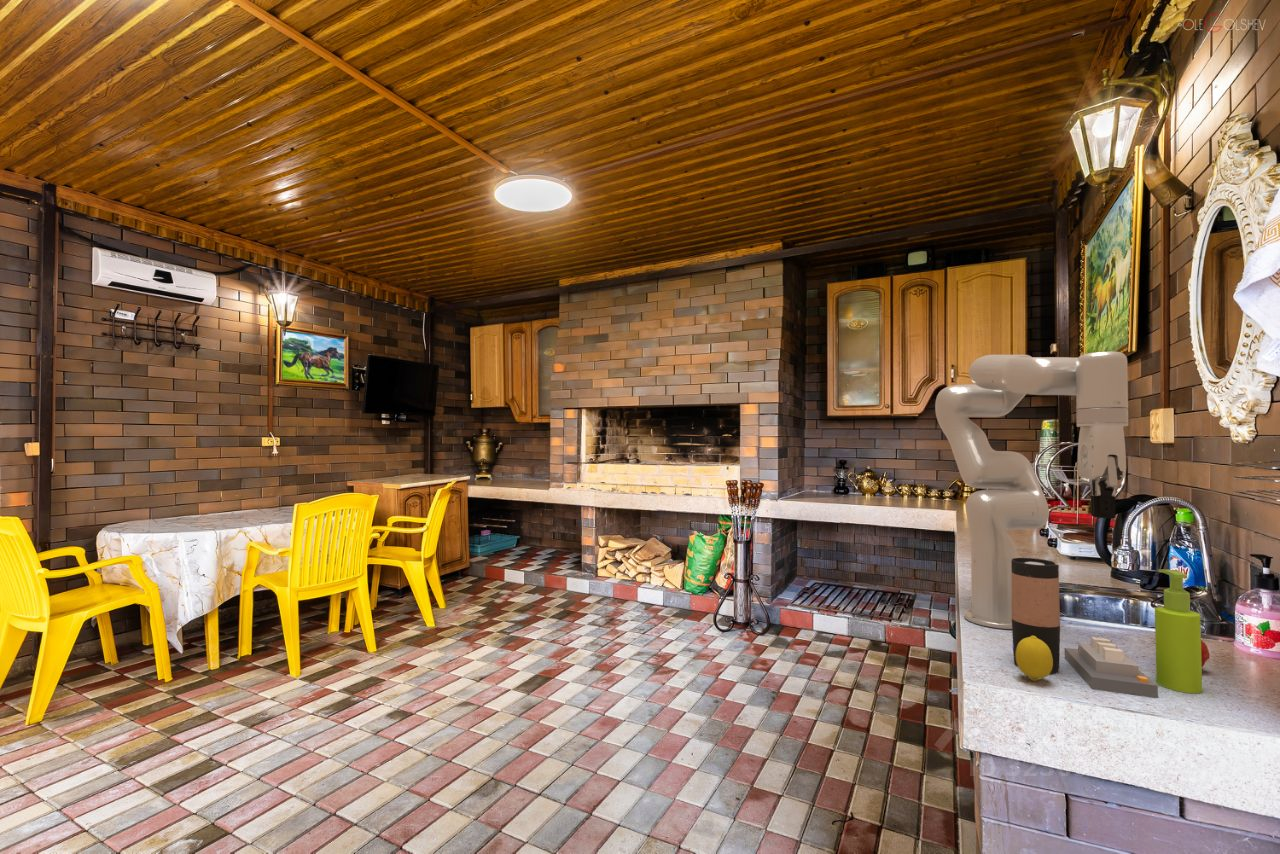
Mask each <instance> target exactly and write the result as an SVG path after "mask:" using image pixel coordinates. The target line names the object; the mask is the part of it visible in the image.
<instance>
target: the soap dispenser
mask: <svg viewBox="0 0 1280 854" xmlns="http://www.w3.org/2000/svg"><path fill="white" fill-rule="evenodd" d="M1157 572H1158V573H1163V574H1165V575H1168V576H1169V587H1167V588H1164V589H1163V606H1156V607H1154V625H1155V627H1154V630H1155V631H1154V633H1155V634H1154V635H1155V636H1154V638H1155V676H1156V677H1155V679H1156V681H1155V683H1157V684H1158V685H1159V686H1161V687H1164V688H1166V689H1169V690H1172V691H1175V692H1181V693H1184V694H1185V693H1187V694H1201V693H1202V692H1203V669H1202V668H1203V667H1202V662H1201V640H1202V628H1201V613H1199V612H1196V611H1193V610H1191V595H1190V592H1189V591H1186V589H1184V579H1188V574H1186V573H1184V572H1182V571H1179V570H1177V569H1165V568H1164V569H1161V568H1160V569H1157Z"/></svg>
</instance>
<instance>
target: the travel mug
mask: <svg viewBox="0 0 1280 854" xmlns="http://www.w3.org/2000/svg"><path fill="white" fill-rule="evenodd" d="M1059 567H1060V565H1059V564H1056V562H1054V561H1052V560H1047V559H1041V558H1033V557H1017V558H1013V559H1012V561H1011V571H1012V572H1011V574H1012V629H1011V634H1012V652H1013V655H1012V656H1013V663H1014V665H1015V666H1016V667H1018V665H1017V662H1016V649H1017V645H1018V643H1019V642H1020V641H1021V640H1022V639H1024V638H1027V637H1031V636H1036V637H1037V638H1038V639H1040V640H1042V641H1043V642H1044V643H1046V644H1047V646H1048V647H1049V649H1050V651H1051V654H1052V658H1053V667H1052V670H1051V672H1050V674H1049V675H1054V674H1058V673H1059V671H1060V652H1061V651H1060V650H1061V648H1060V646H1061V645H1060V644H1061V612H1060V611H1061V608H1060V606H1061V605H1060V578H1059V576H1060V575H1059V572H1060V570H1059V569H1060V568H1059Z"/></svg>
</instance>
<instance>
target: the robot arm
mask: <svg viewBox="0 0 1280 854" xmlns="http://www.w3.org/2000/svg"><path fill="white" fill-rule="evenodd" d="M1128 375H1129V373H1128V357H1127V355H1125V353H1122V352H1120V351H1109V350H1108V351H1097V352H1096V351H1095V352H1088V353H1085V354H1081V355H1080V356H1078V357H1071V356H1070V357H1069V356H1068V357H1067V356H1065V357H1064V356H1062V357H1061V356H1060V357H1059V356H1055V357H1054V356H1052V357H1051V356H1049V357H1048V356H1047V357H1045V356H1044V357H1041V356H1039V357H1037V356H1036V357H1034V356H1033V357H1032V356H1031V355H1029V354H987V355H983V356H980V357H978V358H976V359H975V360H974V361H973V362H972V363H971V365H970V367H969V368H968V376H969V379H970V380H971V382H972V383H973V384H969V383H968V384H966V383H965V384H955V385H949V386H946V387H944V388H943V389H941V390H940V391H939V392H938V394H937V395H936V399H935V405H934V406H935V408H934V410H935V416H936V420H937V423H938V424H939V428H940V429H941V431H942V433H943V434H944V436H945V437H946V439H947V440H948V442H949V445H950V448H951V452H952V454H953V457H954V460H955V463H956V466H957V469H958V472H959V475H960V477H961V478H962V481H963V483H964V484H965V485H966V486H967V487H970V488H973V489H982V490H977V491H974V492H972V493H971V494H970V495H969V496H967V499H966V501H965V514H966V517H967V523H968V527H969V528H968V529H969V536H970V537H969V538H970V539H969V540H970V560H971V561H970V564H971V565H970V569H971V570H970V572H971V573H970V576H971V581H970V584H971V586H970V587H971V589H970V590H971V609H969V610H966V611H965V612H964V613H963V614H964V615H963V616H964V618H965V620H966V621H968V622H971V623H973V624H976V625H980V626H984V627H989V628H994V629H1004V630H1012V574H1011V572H1012V571H1011V561H1012V559H1013V558H1018V551H1017V546H1016V543H1015V542H1014V540H1013V539H1012V538H1011V536H1010V535H1009V533H1008V532H1007V531H1009V530H1037V529H1040V528H1042V527H1044V526H1046V524H1047V523H1048V520H1049V517H1050V510H1049V509H1050V508H1049V505H1048V501H1047V499H1046V497H1045V494H1044V491H1043V489H1042V487H1041V485H1040V482H1039V479H1038V477H1037V474H1036V471H1035V470H1034V467H1033V466H1032V463H1031V461H1030V460H1028V458H1027V457H1026V456H1024V455H1023V454H1022V453H1021V452H1018V451H1017V452H1016V451H1011V450H996V449H993V448H992V446H991V445H990V443H989V442H990V441H989V440H988V437H987V435H986V433H985V432H984V431H983V429H982V428H980V426H979V425H977V424H976V423H975V422H973V421H972V420H971V419H970V418H1000V417H1004V416H1007V414H1009V413H1010V412H1012V411H1013V410H1014V408H1015V407H1016V406H1017V405H1018V404H1019V403H1020V402H1021V401H1022V399H1024V398H1025V396H1026V395H1033V396H1034V395H1036V396H1076V399H1075V400H1076V406H1075V409H1076V427H1078V428H1080V429H1079V435H1078V443H1077V445H1078V446H1077V447H1078V448H1077V469H1076V471H1077V473H1076V474H1077V476H1078V477H1079V478H1082V479H1086V480H1088V482H1089V487H1090V488H1089V490H1090V510H1091V511H1090V515H1091V517H1093V518H1096V519H1115V518H1116V492H1117V491H1116V490H1117V488H1118V486H1119V484H1118V481H1121V480H1122V481H1123V479H1125V478H1126V474H1127V473H1126V471H1127V456H1126V455H1127V453H1126V440H1125V431H1124V430H1125V429H1124V427H1129V381H1128V380H1129V379H1128V377H1129V376H1128Z"/></svg>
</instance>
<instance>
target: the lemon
mask: <svg viewBox="0 0 1280 854" xmlns="http://www.w3.org/2000/svg"><path fill="white" fill-rule="evenodd" d="M1016 662H1017V665H1018V666H1017V667H1018V668H1019V670H1020V672H1022V673H1023V674H1024V675H1025V676H1027V677H1028V678H1029V679H1030V680H1031V681H1034V682H1037V681H1038V680H1040V679H1043V678H1046V677H1048V676H1049V675H1051V674H1050V672H1051V670H1052V667H1053V658H1052V654H1051V651H1050V649H1049V647H1048V646H1047V644H1046V643H1044V642H1043V641H1042V640H1040V639H1038V638H1037V637H1036V636H1031V637H1027V638H1024V639H1022V640H1021V641H1020V642H1019V643H1018V645H1017V649H1016Z"/></svg>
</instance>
